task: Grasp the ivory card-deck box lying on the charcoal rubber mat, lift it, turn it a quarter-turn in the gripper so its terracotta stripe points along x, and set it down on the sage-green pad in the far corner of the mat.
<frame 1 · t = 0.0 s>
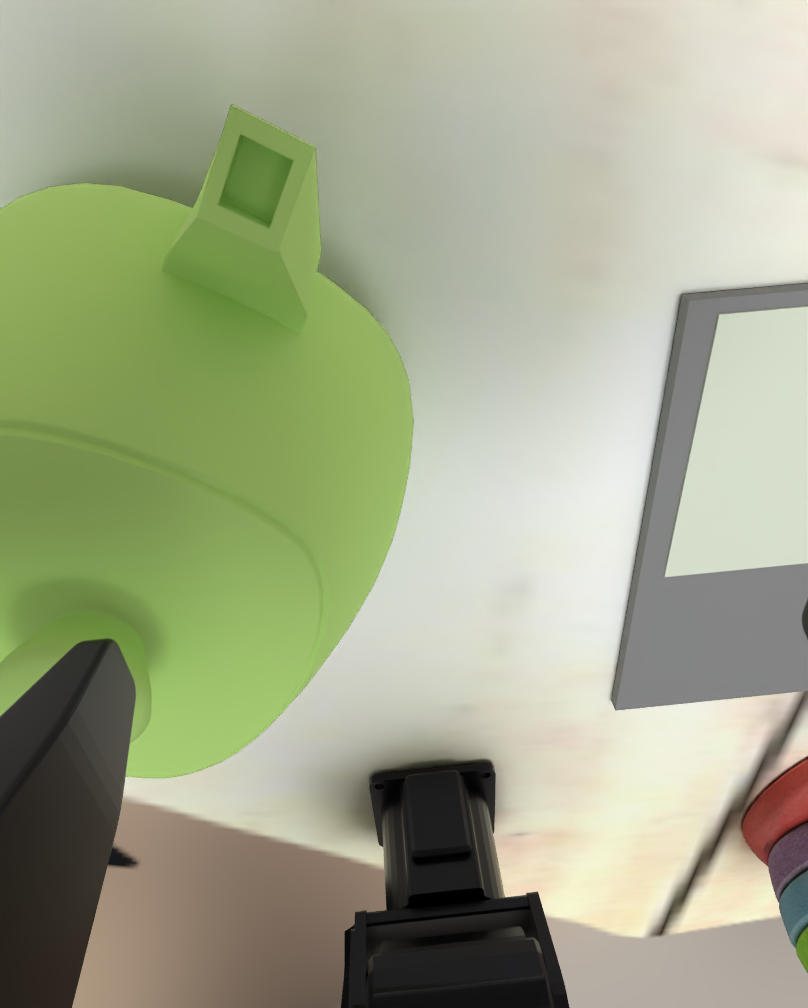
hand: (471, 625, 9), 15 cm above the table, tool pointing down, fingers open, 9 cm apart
teapot: (193, 393, 23), on the table
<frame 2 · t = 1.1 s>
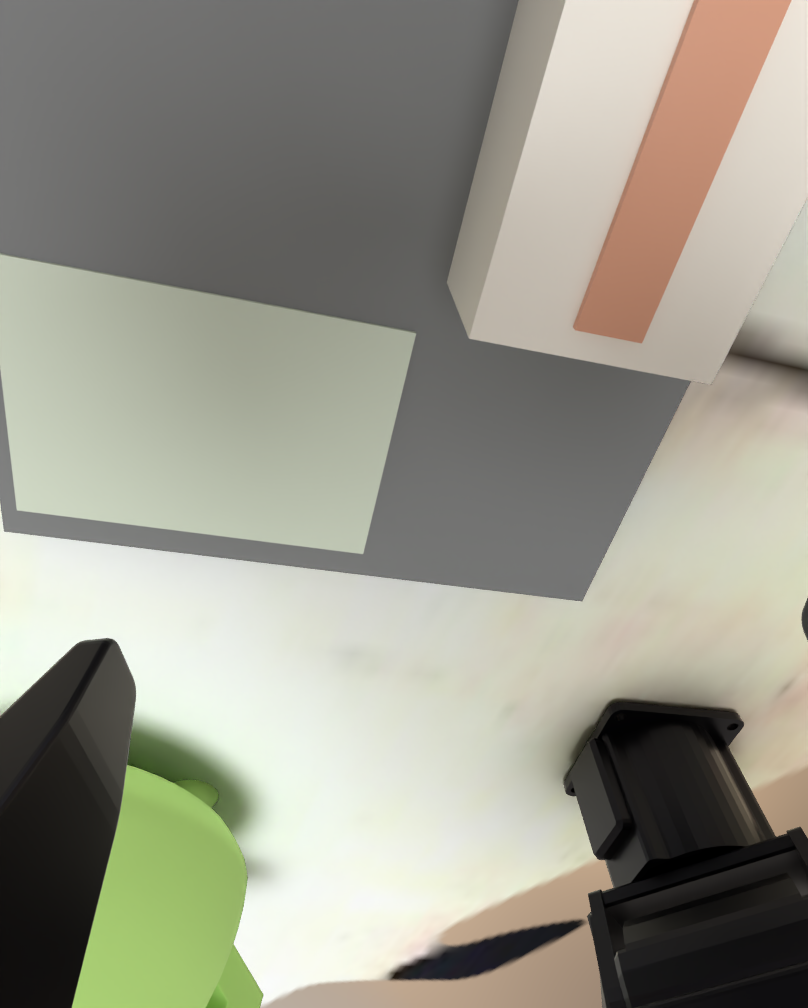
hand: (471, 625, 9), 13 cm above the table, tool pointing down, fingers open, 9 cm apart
deck box: (614, 122, 16), point 1 cm above the table, touching mat
teapot: (93, 796, 32), on the table
mat: (376, 242, 18), on the table
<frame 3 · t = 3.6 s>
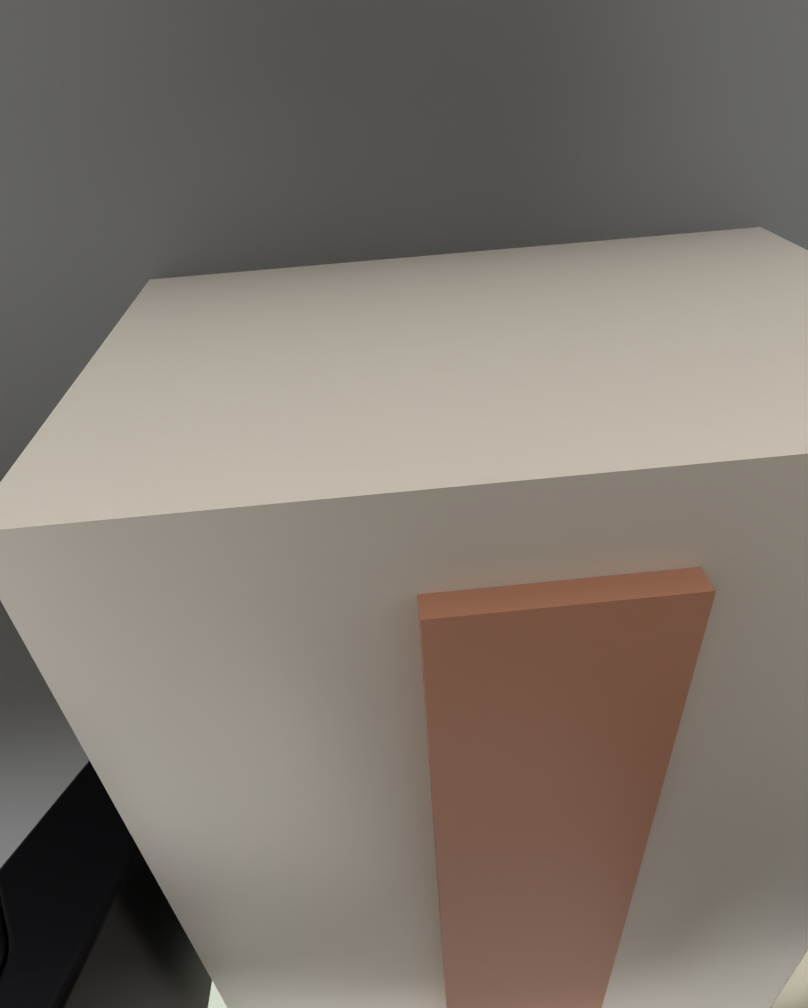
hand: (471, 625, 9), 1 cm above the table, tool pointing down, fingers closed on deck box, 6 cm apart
deck box: (463, 592, 9), point 1 cm above the table, touching gripper, mat
mat: (178, 764, 12), on the table
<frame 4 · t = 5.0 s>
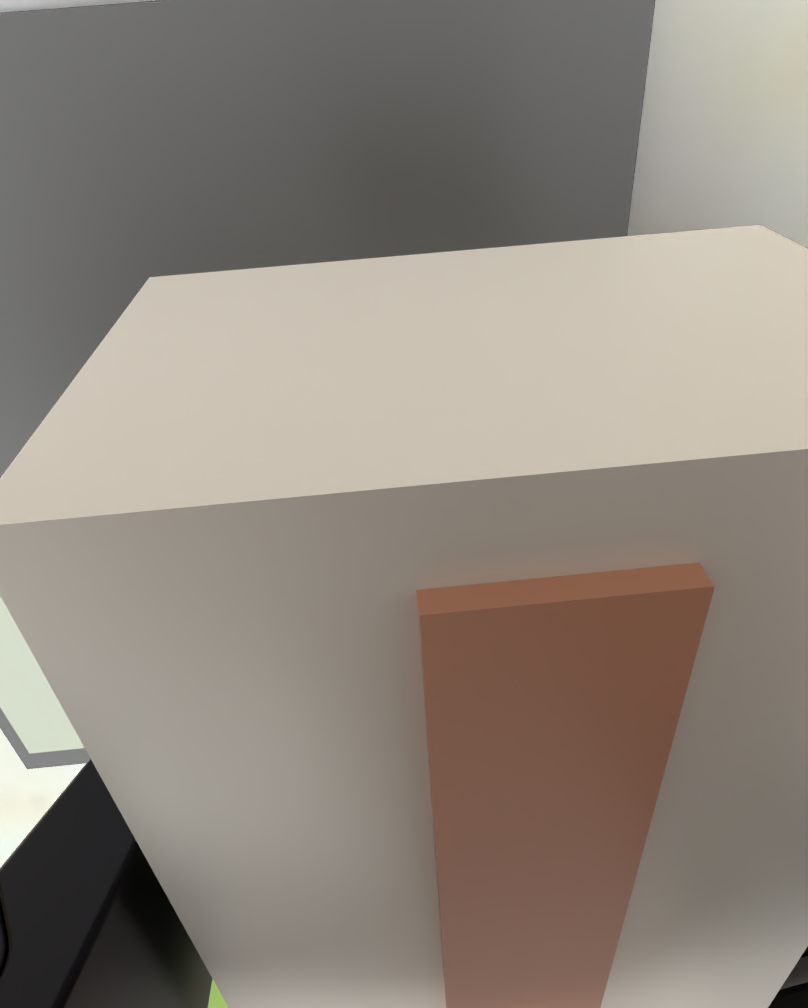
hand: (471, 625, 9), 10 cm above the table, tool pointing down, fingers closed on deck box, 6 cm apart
deck box: (463, 590, 9), point 10 cm above the table, touching gripper
teapot: (192, 933, 35), on the table
mat: (242, 485, 19), on the table
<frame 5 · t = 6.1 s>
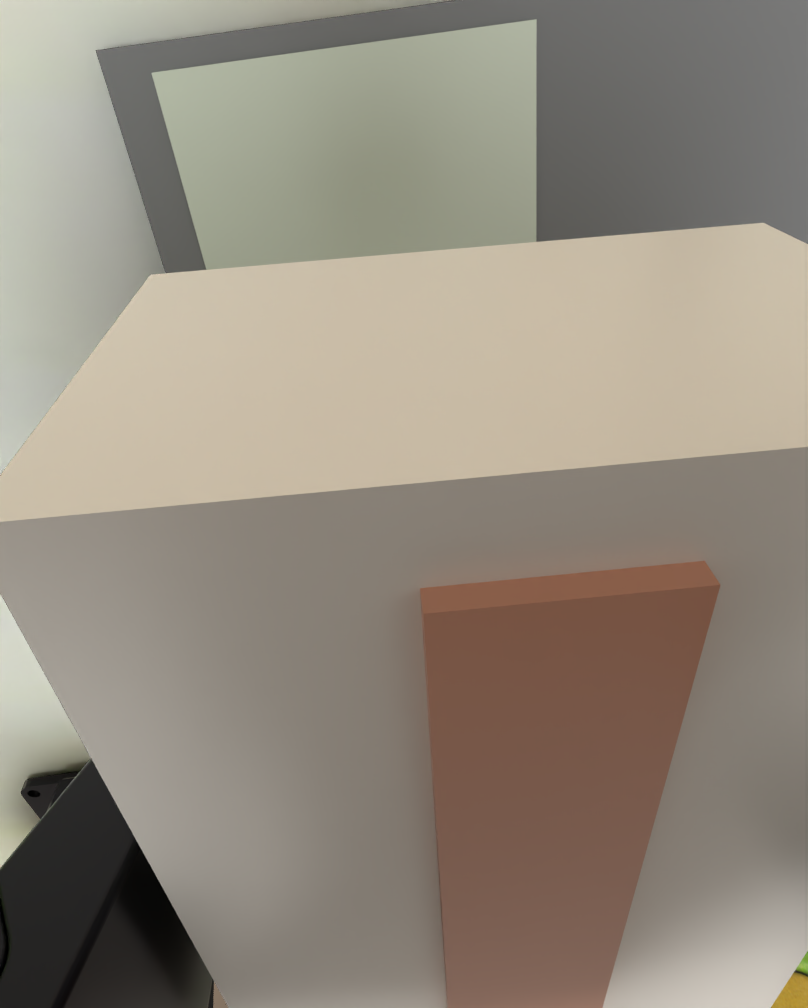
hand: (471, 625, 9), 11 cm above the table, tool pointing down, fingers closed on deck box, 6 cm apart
deck box: (464, 589, 9), point 11 cm above the table, touching gripper
stacking bear: (634, 797, 33), on the table
mat: (598, 402, 20), on the table
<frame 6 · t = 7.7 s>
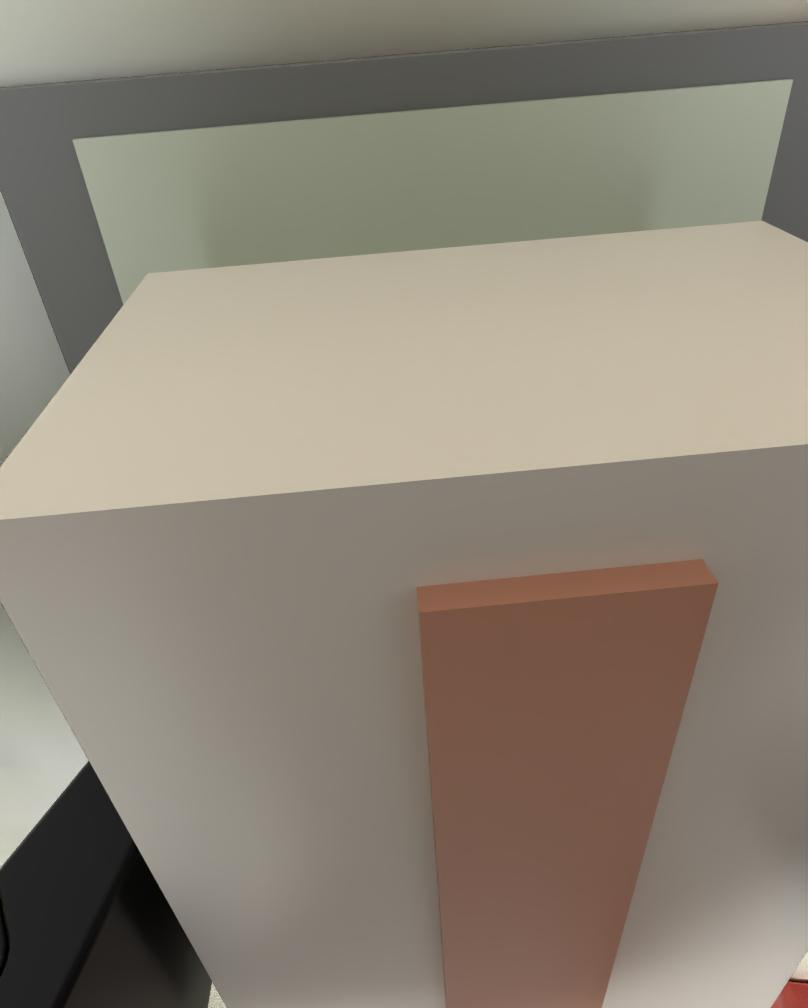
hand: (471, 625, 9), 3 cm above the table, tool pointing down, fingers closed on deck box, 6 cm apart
deck box: (463, 589, 9), point 3 cm above the table, touching gripper
stacking bear: (691, 1007, 27), on the table
mat: (746, 621, 14), on the table
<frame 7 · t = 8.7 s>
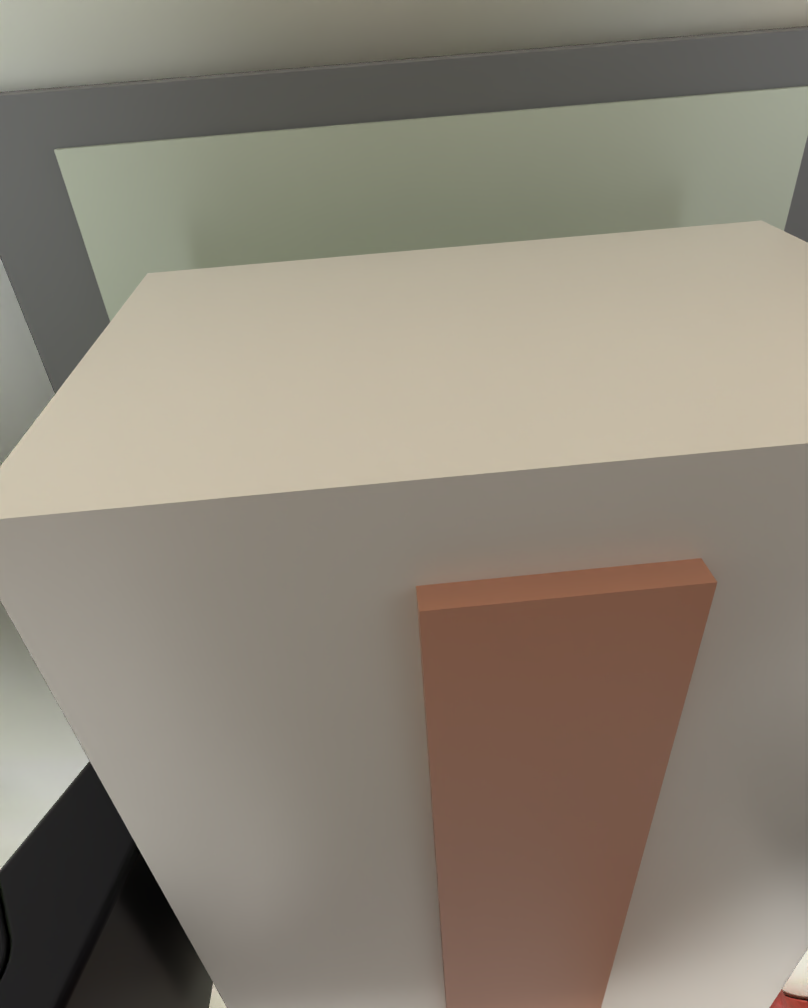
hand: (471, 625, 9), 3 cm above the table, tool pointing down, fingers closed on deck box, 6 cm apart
deck box: (463, 588, 9), point 2 cm above the table, touching gripper
mat: (759, 642, 13), on the table
when the fingers open (3 cm above the table, at t = 8.7 s): deck box drops 1 cm, resting on mat.
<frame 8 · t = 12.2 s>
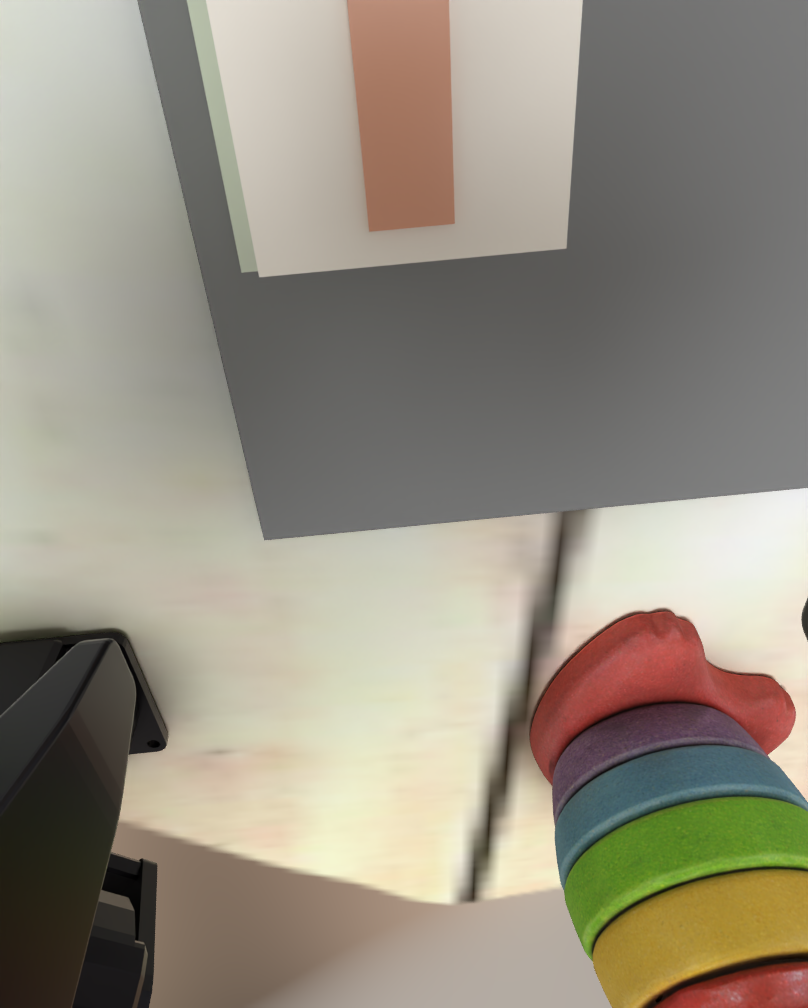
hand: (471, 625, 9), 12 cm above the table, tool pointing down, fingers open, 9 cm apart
stacking bear: (635, 710, 30), on the table
mat: (635, 167, 17), on the table
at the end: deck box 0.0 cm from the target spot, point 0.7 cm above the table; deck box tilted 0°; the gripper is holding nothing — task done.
